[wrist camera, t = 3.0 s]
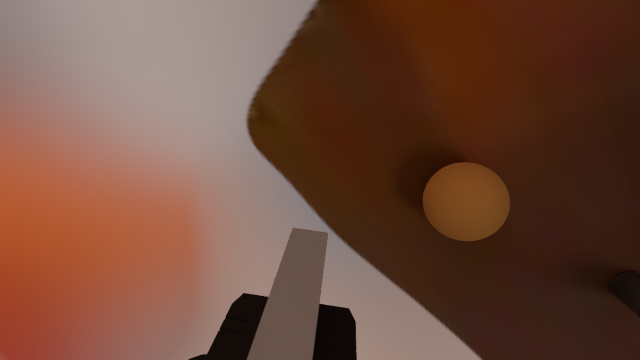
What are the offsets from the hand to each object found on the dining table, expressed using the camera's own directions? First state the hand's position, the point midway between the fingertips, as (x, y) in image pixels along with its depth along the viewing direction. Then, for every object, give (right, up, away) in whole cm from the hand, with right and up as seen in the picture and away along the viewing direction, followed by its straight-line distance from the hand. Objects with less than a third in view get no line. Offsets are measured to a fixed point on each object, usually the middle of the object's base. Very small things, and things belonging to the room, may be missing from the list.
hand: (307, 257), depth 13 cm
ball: (+11, +2, +8) cm, 14 cm away
